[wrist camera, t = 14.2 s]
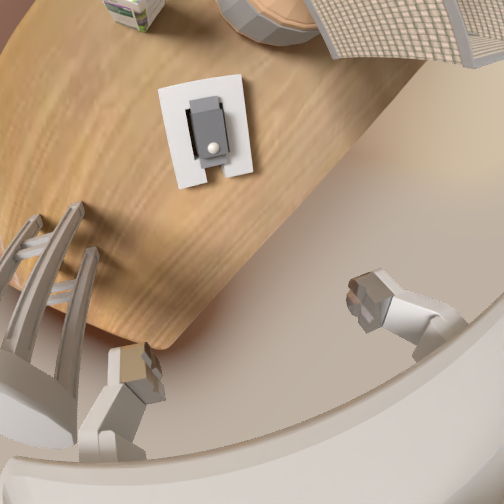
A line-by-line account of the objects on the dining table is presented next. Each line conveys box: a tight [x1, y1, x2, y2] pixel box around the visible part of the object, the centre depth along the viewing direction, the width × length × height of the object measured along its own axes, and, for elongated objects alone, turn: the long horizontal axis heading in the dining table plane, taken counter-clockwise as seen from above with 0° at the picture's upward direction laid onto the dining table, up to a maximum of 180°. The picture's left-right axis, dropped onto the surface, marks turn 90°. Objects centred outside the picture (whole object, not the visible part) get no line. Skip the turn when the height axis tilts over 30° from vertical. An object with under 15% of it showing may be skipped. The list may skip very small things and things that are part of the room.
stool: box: [0, 201, 100, 449], centre depth 27 cm, size 16×16×35 cm
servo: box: [189, 96, 228, 169], centre depth 37 cm, size 10×4×6 cm, turn 7°
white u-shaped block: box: [158, 74, 253, 190], centre depth 38 cm, size 16×12×3 cm
